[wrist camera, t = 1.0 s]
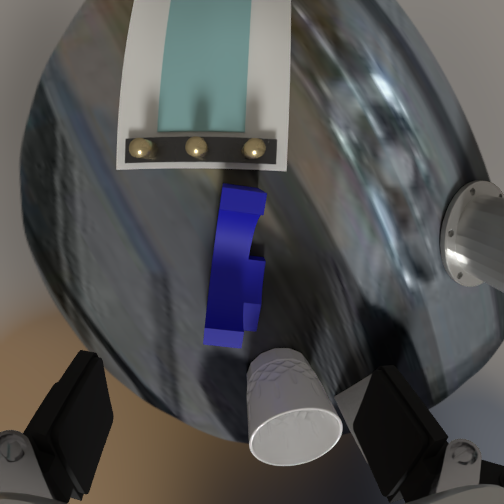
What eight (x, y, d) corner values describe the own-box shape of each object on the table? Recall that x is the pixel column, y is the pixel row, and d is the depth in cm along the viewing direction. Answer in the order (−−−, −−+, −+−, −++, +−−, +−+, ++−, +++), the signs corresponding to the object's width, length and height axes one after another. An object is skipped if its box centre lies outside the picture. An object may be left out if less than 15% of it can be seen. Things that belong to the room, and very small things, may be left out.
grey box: (333, 396, 34) (362, 456, 24) (382, 366, 33) (421, 420, 24) (344, 411, 35) (372, 469, 25) (390, 383, 34) (426, 435, 25)
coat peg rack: (275, 140, 24) (285, 135, 20) (274, 164, 25) (283, 164, 21) (128, 139, 23) (112, 135, 19) (127, 163, 24) (111, 163, 20)
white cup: (253, 335, 30) (266, 403, 21) (324, 348, 32) (358, 410, 22) (233, 393, 32) (238, 462, 22) (298, 402, 33) (319, 467, 24)
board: (287, -6, 22) (291, -15, 20) (282, 171, 26) (286, 171, 25) (140, -7, 20) (136, -15, 19) (121, 169, 25) (115, 169, 23)
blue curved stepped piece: (253, 316, 30) (259, 349, 24) (206, 311, 29) (203, 344, 24) (274, 190, 27) (288, 197, 21) (222, 182, 26) (222, 187, 21)
